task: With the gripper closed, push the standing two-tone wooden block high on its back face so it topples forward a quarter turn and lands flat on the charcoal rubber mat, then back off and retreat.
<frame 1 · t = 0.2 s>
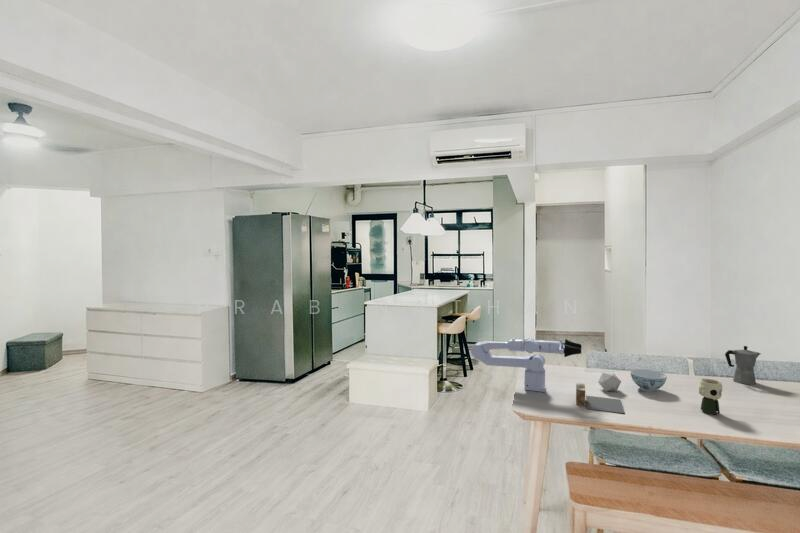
hand: (581, 348, 196), 21 cm above the table, tool horizontal, fingers open, 7 cm apart
mat: (604, 404, 184), on the table
die: (609, 390, 202), on the table
character mug: (709, 412, 175), on the table
chinaware: (648, 390, 202), on the table
two-tone wooden block: (580, 402, 187), on the table
coffeepot: (741, 382, 212), on the table
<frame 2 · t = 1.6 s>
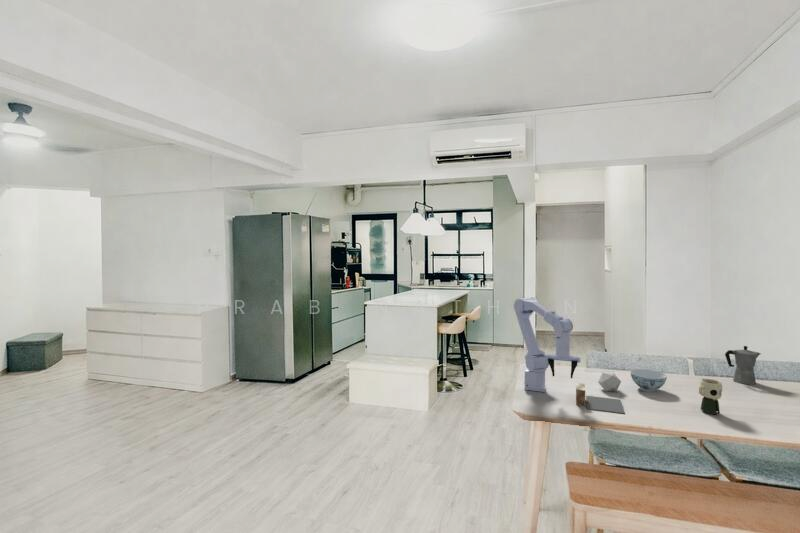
hand: (562, 376, 190), 10 cm above the table, tool pointing down, fingers open, 7 cm apart
nothing on the table moved.
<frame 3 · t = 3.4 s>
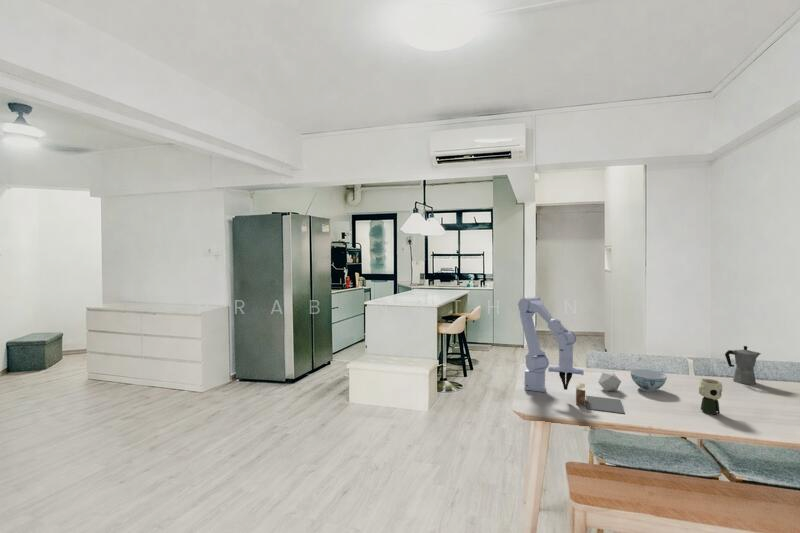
hand: (565, 389, 189), 5 cm above the table, tool pointing down, fingers closed
nothing on the table moved.
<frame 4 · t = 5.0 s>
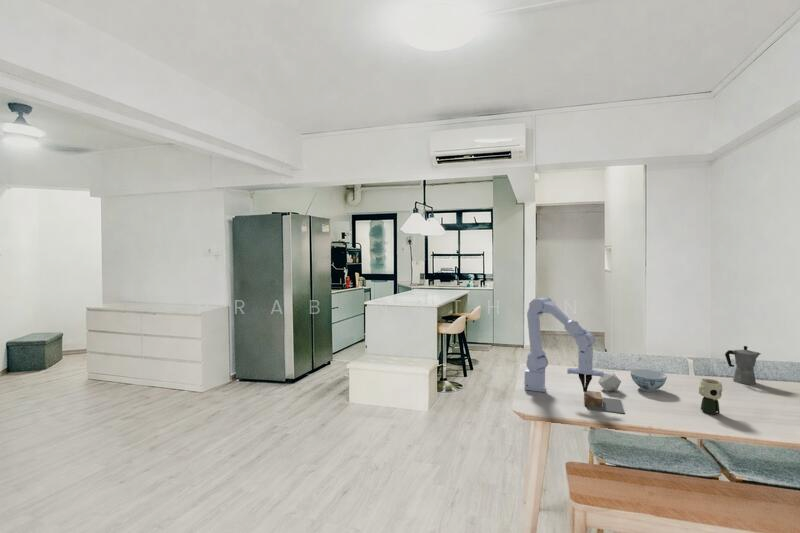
hand: (585, 391, 186), 5 cm above the table, tool pointing down, fingers closed
two-tone wooden block: (584, 397, 187), point 2 cm above the table, tilted 90°, touching mat
everything else where it was.
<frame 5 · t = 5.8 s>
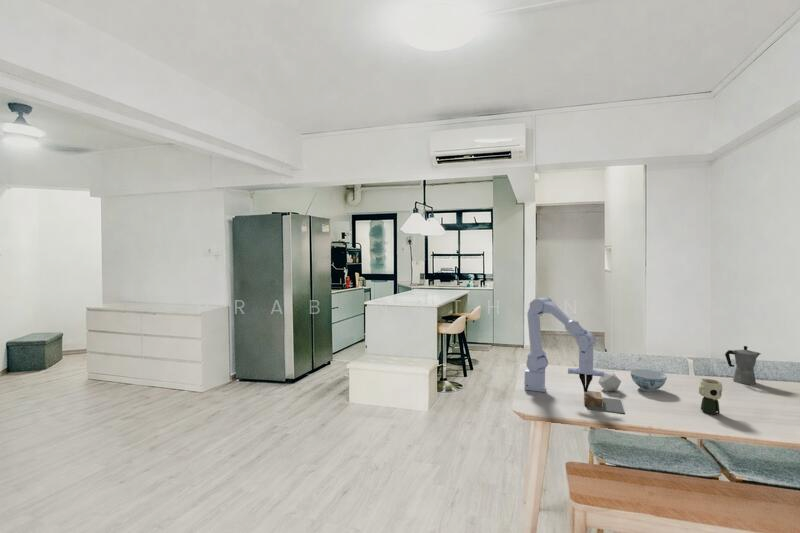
hand: (585, 391, 186), 5 cm above the table, tool pointing down, fingers closed
nothing on the table moved.
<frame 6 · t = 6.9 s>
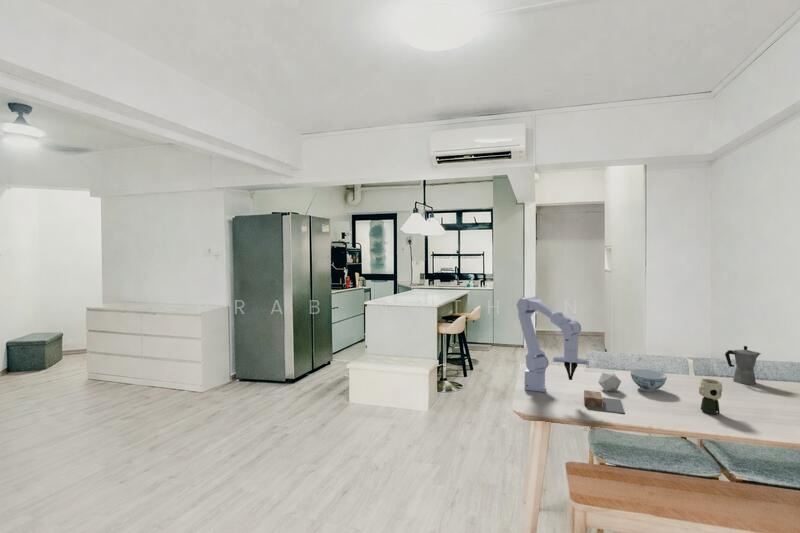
hand: (570, 379, 188), 10 cm above the table, tool pointing down, fingers closed
nothing on the table moved.
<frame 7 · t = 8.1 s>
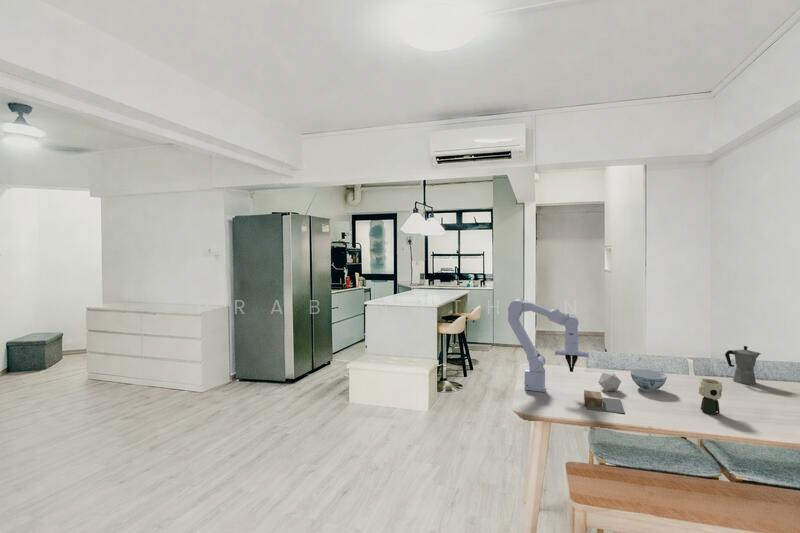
hand: (571, 371, 197), 10 cm above the table, tool pointing down, fingers closed
nothing on the table moved.
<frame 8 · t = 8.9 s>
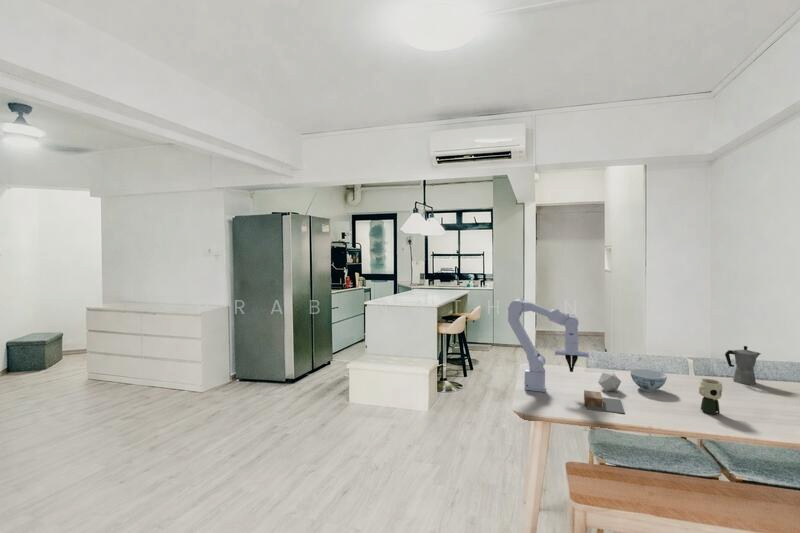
hand: (571, 371, 197), 10 cm above the table, tool pointing down, fingers closed
nothing on the table moved.
at the end: two-tone wooden block tilted 90°; two-tone wooden block inside the target area (7.6 cm from its centre), point 2.1 cm above the table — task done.
